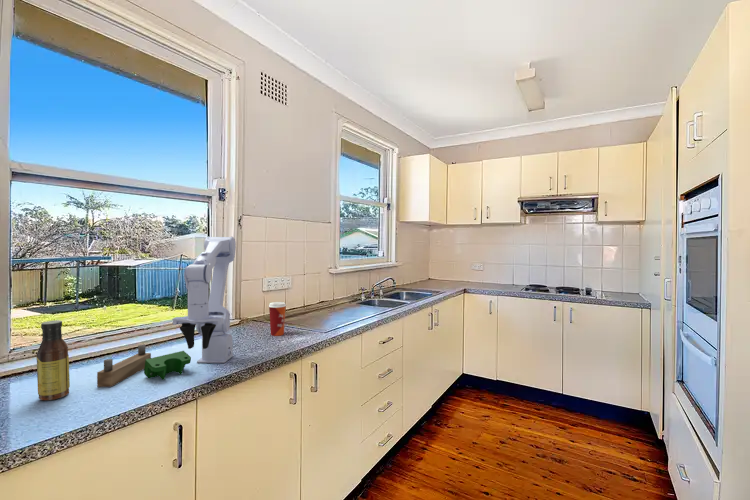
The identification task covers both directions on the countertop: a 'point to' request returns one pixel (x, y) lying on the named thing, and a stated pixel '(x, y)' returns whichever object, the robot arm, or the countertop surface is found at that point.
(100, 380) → the bar
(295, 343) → the countertop surface
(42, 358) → the sauce bottle
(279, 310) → the paper cup
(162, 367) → the clamp
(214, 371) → the countertop surface
